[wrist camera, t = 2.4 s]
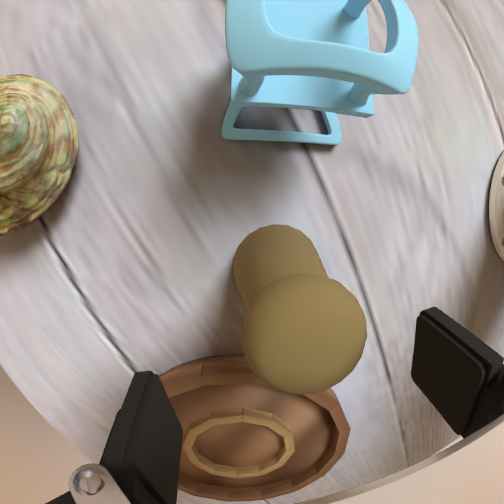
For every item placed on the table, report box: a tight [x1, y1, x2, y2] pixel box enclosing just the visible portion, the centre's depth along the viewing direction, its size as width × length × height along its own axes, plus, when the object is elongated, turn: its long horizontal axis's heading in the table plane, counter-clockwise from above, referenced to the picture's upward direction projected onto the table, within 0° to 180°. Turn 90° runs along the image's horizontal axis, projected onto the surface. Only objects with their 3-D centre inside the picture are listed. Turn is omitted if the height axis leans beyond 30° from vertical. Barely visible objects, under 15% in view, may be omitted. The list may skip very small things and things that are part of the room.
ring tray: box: [159, 355, 350, 501], centre depth 24 cm, size 20×20×2 cm
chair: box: [221, 0, 418, 145], centre depth 12 cm, size 8×8×12 cm
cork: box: [233, 225, 367, 395], centre depth 16 cm, size 6×6×11 cm
